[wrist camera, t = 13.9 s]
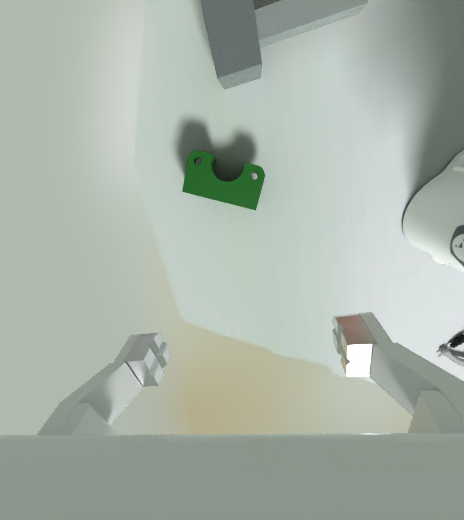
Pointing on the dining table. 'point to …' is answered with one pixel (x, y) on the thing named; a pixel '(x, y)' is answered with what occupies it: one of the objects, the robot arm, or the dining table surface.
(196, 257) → the dining table surface
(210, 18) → the vise
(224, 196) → the clamp
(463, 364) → the bike brake
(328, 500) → the robot arm
